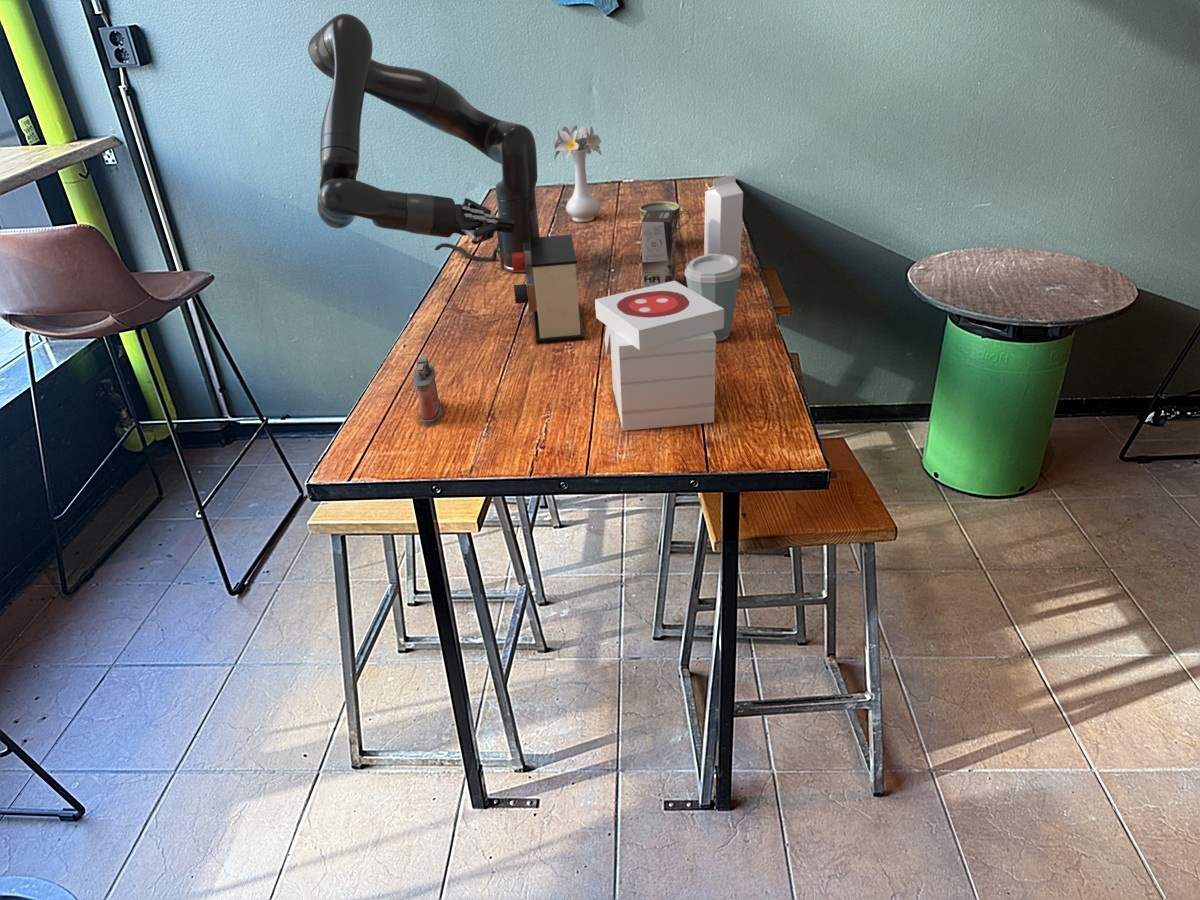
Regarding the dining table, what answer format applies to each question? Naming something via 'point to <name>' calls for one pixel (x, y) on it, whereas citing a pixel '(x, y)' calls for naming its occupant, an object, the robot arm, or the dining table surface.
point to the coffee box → (658, 247)
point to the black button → (520, 293)
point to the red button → (518, 261)
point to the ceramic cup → (663, 206)
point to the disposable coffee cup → (716, 284)
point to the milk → (723, 218)
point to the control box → (553, 288)
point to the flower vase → (579, 170)
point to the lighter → (427, 391)
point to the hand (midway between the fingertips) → (513, 226)
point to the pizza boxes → (661, 354)
